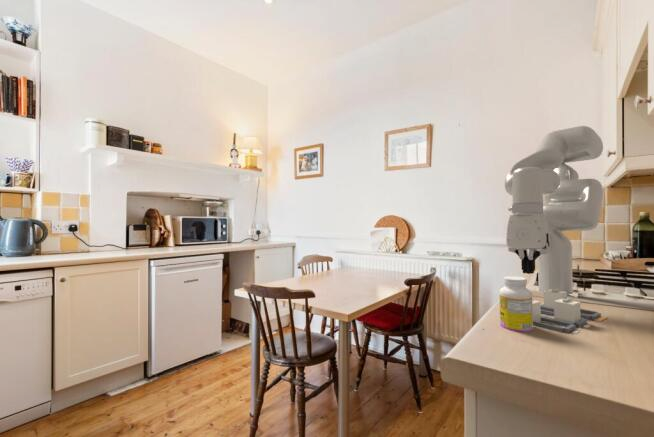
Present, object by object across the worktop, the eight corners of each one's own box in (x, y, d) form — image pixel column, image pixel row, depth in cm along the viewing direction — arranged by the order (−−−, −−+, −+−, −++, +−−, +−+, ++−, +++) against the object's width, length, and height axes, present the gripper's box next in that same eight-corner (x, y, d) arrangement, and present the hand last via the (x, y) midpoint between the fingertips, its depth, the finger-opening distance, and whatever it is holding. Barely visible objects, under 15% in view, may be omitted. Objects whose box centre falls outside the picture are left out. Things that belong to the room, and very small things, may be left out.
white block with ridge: (561, 318, 79) (560, 296, 79) (580, 322, 76) (580, 299, 76) (554, 321, 77) (553, 298, 77) (573, 326, 74) (573, 302, 74)
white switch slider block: (550, 307, 89) (550, 287, 89) (567, 310, 86) (566, 289, 86) (544, 309, 87) (543, 289, 87) (561, 313, 84) (560, 292, 84)
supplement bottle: (502, 325, 79) (500, 274, 79) (533, 330, 75) (532, 276, 75) (498, 333, 73) (497, 278, 74) (532, 339, 70) (531, 281, 70)
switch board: (544, 308, 93) (543, 285, 93) (610, 321, 80) (609, 295, 80) (504, 323, 81) (503, 296, 81) (574, 341, 68) (573, 310, 68)
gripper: (495, 210, 96) (495, 271, 96) (550, 208, 84) (551, 277, 83) (508, 211, 100) (508, 269, 100) (563, 209, 88) (564, 275, 87)
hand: (528, 273), depth 92 cm, fingers closed
